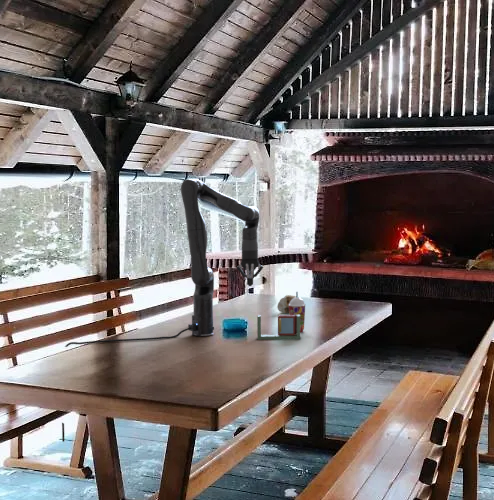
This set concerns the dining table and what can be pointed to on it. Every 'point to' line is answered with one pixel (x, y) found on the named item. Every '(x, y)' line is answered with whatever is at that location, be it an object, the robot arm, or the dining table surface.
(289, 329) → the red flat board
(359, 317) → the dining table surface
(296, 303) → the smoothie
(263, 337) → the green double frame
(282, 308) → the stone
